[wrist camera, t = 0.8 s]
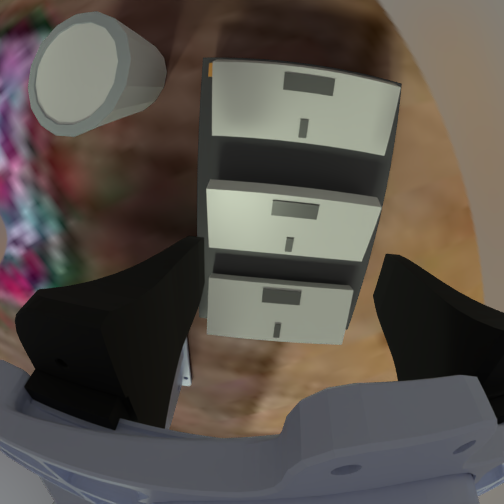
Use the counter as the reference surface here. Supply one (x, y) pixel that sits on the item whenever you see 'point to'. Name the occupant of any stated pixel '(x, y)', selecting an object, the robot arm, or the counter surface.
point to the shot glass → (93, 74)
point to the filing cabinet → (290, 174)
